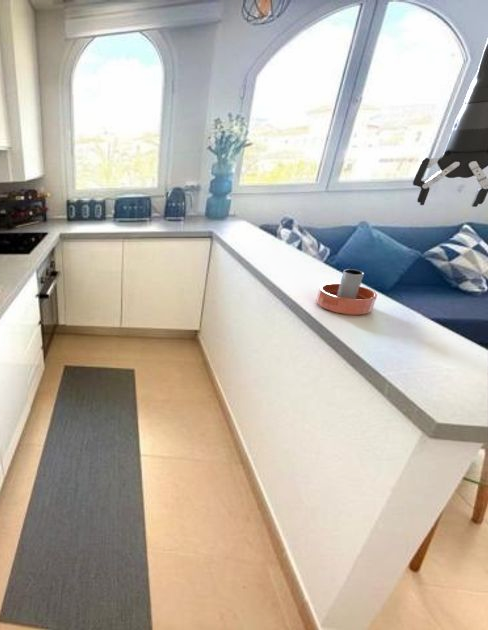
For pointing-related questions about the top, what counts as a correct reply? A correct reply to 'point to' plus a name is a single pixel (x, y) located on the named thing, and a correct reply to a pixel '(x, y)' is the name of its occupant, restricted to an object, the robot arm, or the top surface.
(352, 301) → the bowl
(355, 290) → the grey cylinder
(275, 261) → the top surface
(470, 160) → the robot arm
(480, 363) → the top surface
